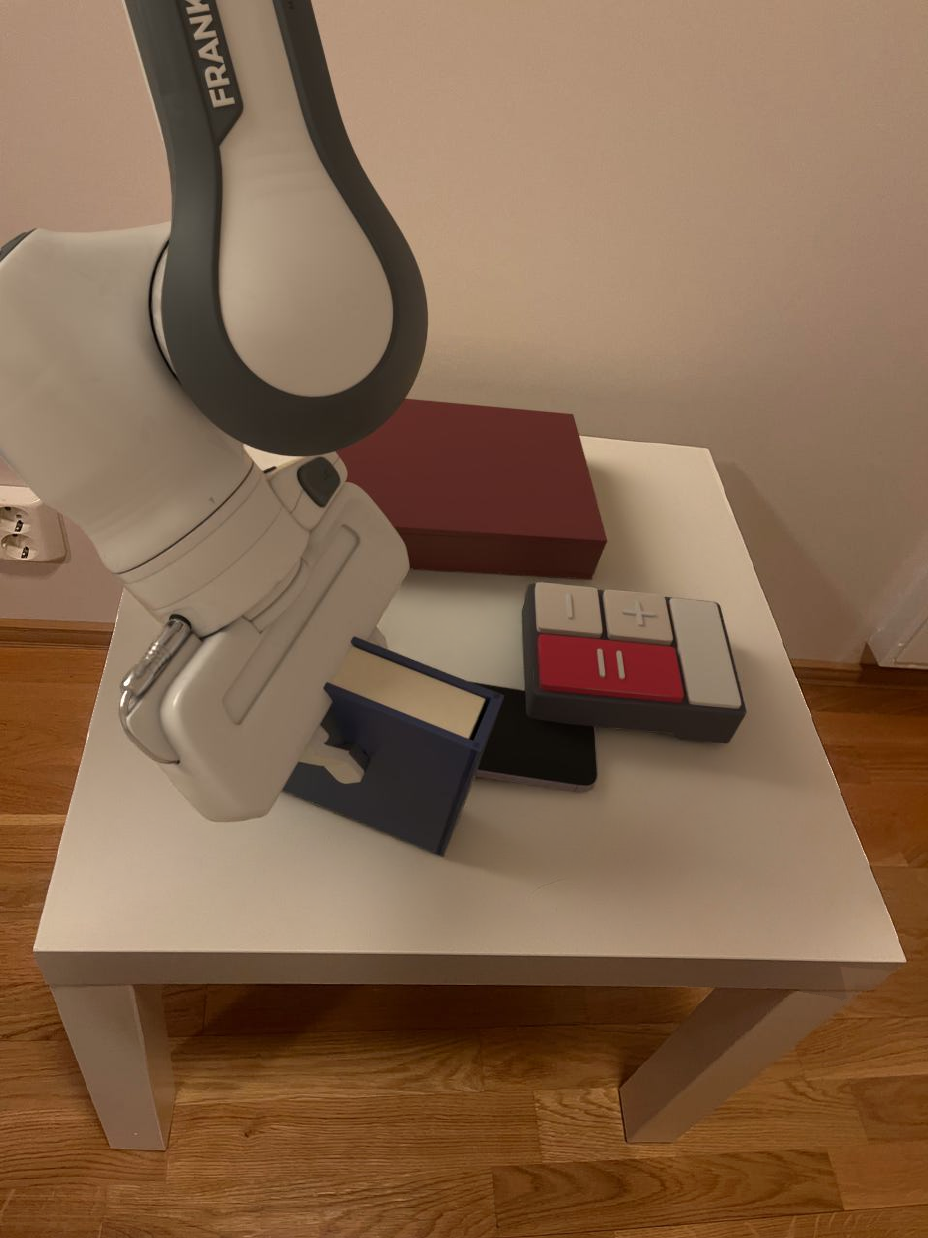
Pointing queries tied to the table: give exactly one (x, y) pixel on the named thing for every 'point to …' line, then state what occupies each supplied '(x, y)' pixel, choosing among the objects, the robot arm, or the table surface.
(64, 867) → the table surface
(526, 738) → the smartphone
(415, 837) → the hardcover book
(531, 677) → the calculator
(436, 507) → the encyclopedia
